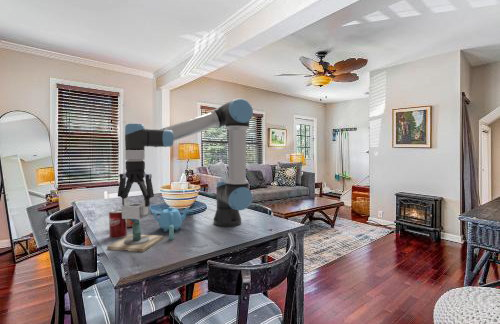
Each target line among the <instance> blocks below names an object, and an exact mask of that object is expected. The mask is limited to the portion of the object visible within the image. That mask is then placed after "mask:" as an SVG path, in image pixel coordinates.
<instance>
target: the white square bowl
mask: <svg viewBox="0 0 500 324" xmlns="http://www.w3.org/2000/svg"><path fill="white" fill-rule="evenodd" d="M122 206H123V205H122ZM122 206H121V209H122V219H139V220H140V219H143V218H146V217H148V216H149V215H151V206H150V205H149V206H148V214H146V215H143V202H132V203H129V205H126V206H123V207H122Z"/></svg>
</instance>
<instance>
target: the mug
mask: <svg viewBox="0 0 500 324" xmlns="http://www.w3.org/2000/svg"><path fill="white" fill-rule="evenodd" d="M122 207H123V205H122V206H121V208H122ZM134 220H139V223H140V224H141V221H140V219H127V228H132V224H134Z"/></svg>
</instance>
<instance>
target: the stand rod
mask: <svg viewBox="0 0 500 324" xmlns="http://www.w3.org/2000/svg"><path fill="white" fill-rule="evenodd" d="M174 232H175V230H174V226H173V225H170V226H169V229H168V238H169V240H171V241H172V240H174V239H175V233H174Z"/></svg>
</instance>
